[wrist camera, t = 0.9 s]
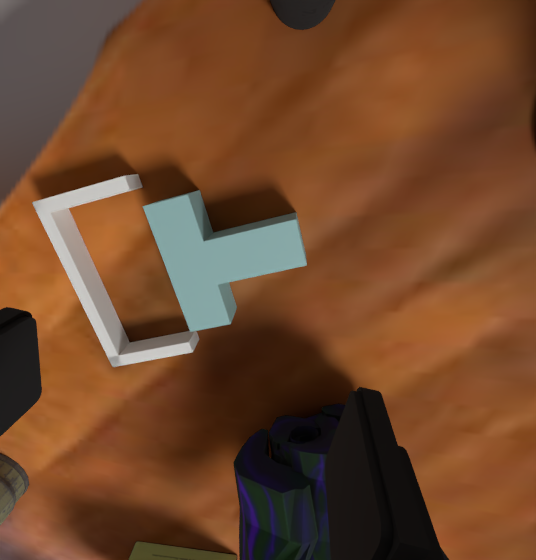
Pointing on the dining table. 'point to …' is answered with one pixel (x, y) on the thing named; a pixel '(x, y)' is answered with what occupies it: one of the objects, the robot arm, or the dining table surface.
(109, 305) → the dock
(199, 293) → the t block
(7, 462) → the thermos
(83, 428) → the dining table surface
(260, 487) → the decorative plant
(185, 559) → the protein box
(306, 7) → the drinking cup
